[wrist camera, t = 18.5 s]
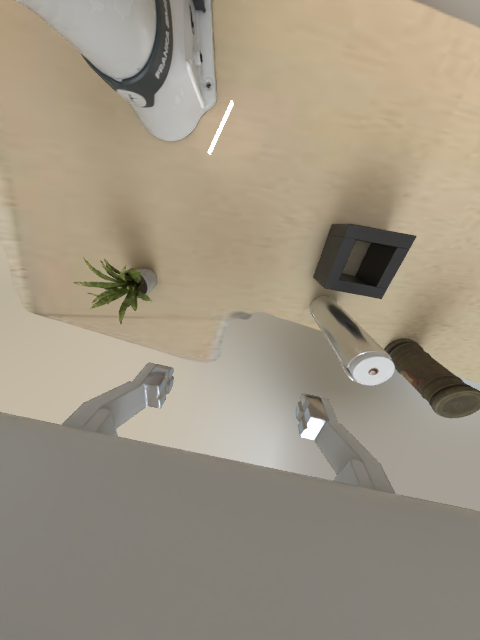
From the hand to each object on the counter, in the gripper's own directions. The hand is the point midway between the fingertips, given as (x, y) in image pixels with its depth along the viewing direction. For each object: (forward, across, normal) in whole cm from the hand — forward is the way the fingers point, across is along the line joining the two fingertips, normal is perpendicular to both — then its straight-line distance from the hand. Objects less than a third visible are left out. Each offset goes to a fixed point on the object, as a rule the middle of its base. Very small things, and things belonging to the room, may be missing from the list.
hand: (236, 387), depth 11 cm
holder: (+39, -21, -6) cm, 45 cm away
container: (+39, -46, +16) cm, 63 cm away
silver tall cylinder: (+39, -20, +7) cm, 45 cm away
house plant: (+39, +28, +7) cm, 49 cm away
